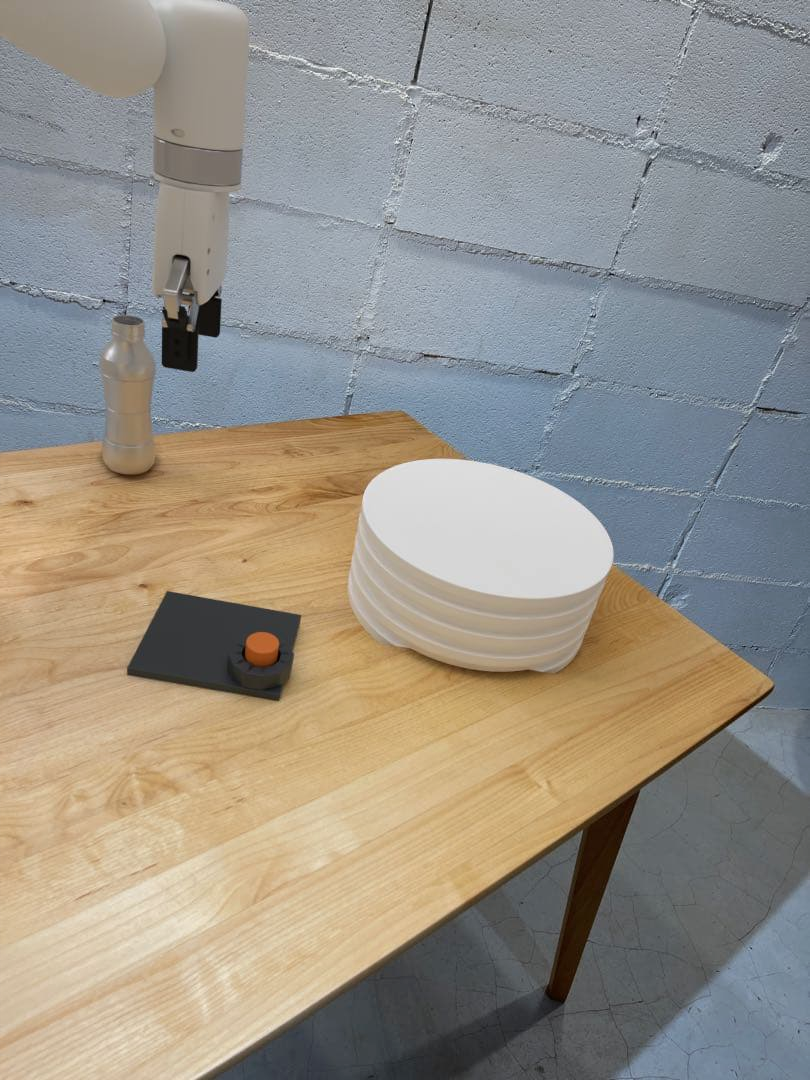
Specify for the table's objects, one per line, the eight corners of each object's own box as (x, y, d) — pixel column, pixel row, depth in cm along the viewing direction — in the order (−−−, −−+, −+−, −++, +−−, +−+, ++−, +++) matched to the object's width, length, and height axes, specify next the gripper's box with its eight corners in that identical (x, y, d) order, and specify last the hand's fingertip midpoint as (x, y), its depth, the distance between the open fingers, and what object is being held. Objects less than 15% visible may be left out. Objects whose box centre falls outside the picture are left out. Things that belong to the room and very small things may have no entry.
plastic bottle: (142, 485, 104) (144, 334, 93) (92, 473, 104) (88, 321, 94) (163, 464, 109) (167, 319, 99) (115, 452, 110) (113, 306, 99)
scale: (126, 685, 75) (126, 652, 73) (166, 607, 85) (167, 576, 83) (282, 712, 76) (287, 680, 73) (303, 631, 86) (307, 601, 84)
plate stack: (622, 616, 99) (655, 537, 93) (497, 727, 79) (528, 636, 73) (442, 513, 112) (461, 439, 106) (296, 587, 92) (308, 500, 86)
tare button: (241, 664, 75) (243, 649, 74) (248, 643, 77) (250, 629, 76) (274, 669, 75) (275, 655, 74) (280, 649, 77) (281, 634, 76)
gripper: (180, 143, 78) (177, 317, 87) (123, 172, 64) (126, 376, 73) (258, 158, 79) (246, 329, 88) (219, 190, 64) (210, 391, 73)
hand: (192, 350), depth 80 cm, fingers open, 9 cm apart
